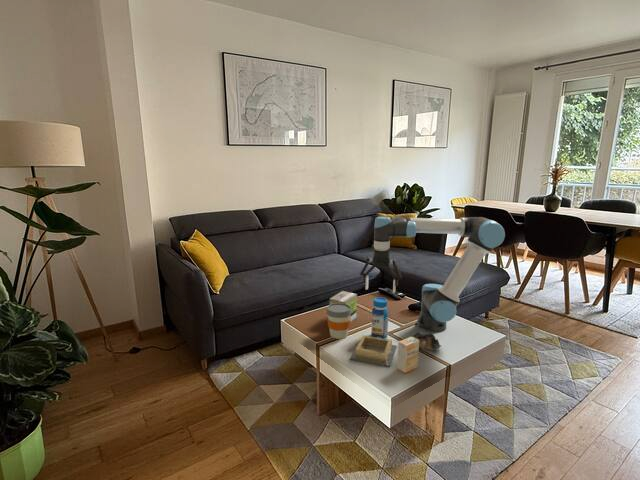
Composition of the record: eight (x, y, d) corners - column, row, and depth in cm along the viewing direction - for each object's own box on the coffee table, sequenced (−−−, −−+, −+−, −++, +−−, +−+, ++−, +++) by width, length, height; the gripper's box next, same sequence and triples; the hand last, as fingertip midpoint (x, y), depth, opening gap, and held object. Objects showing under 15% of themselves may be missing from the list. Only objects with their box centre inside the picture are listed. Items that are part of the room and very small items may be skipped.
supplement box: (405, 374, 149) (406, 345, 147) (396, 369, 153) (397, 341, 150) (418, 367, 154) (419, 339, 151) (409, 362, 158) (410, 335, 155)
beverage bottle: (390, 339, 179) (392, 301, 175) (375, 341, 176) (376, 303, 172) (382, 331, 187) (383, 295, 183) (368, 334, 184) (368, 297, 180)
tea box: (344, 327, 192) (344, 302, 189) (328, 323, 197) (328, 298, 194) (357, 317, 204) (357, 293, 201) (341, 313, 209) (341, 290, 206)
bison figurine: (410, 343, 176) (414, 352, 166) (411, 329, 174) (415, 338, 164) (435, 343, 175) (441, 353, 165) (436, 330, 174) (442, 339, 164)
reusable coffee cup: (325, 339, 179) (325, 312, 176) (328, 328, 191) (328, 302, 188) (350, 341, 177) (350, 313, 174) (351, 329, 189) (352, 303, 186)
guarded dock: (396, 347, 171) (396, 338, 170) (390, 367, 154) (390, 357, 153) (360, 341, 177) (360, 332, 176) (349, 359, 161) (350, 350, 160)
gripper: (409, 249, 171) (406, 291, 175) (358, 245, 180) (357, 285, 184) (406, 252, 164) (404, 296, 169) (354, 248, 173) (353, 290, 177)
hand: (380, 290), depth 176 cm, fingers open, 13 cm apart
